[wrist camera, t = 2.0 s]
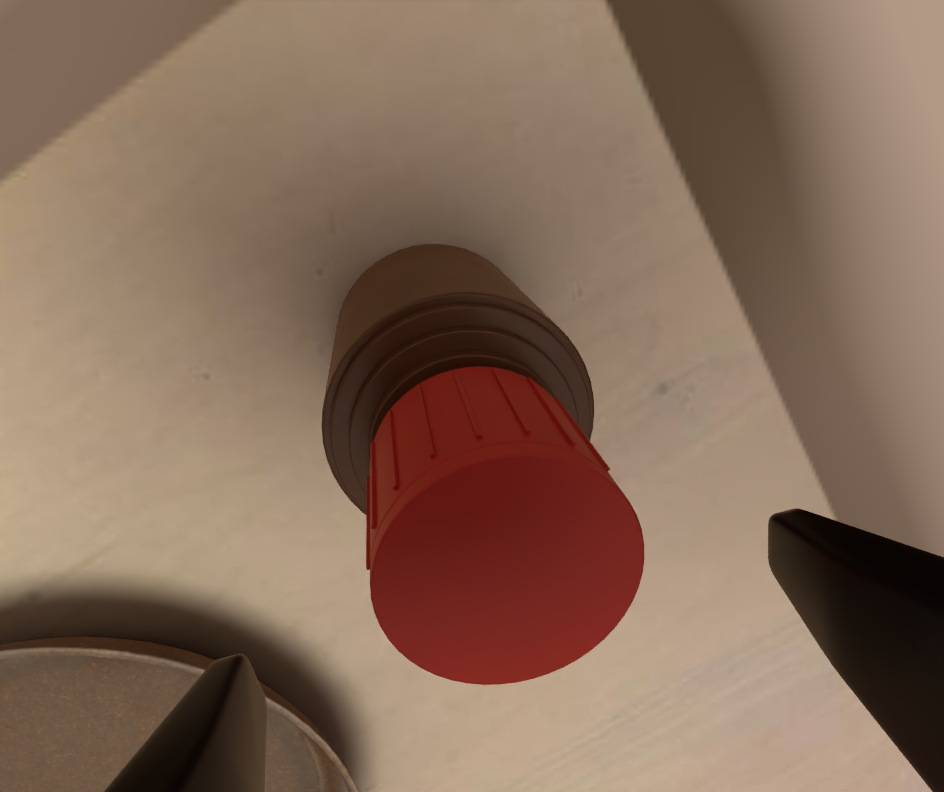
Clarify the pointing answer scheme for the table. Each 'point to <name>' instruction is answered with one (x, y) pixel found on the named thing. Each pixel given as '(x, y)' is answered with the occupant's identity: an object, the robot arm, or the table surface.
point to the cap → (494, 530)
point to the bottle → (434, 347)
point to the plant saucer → (125, 716)
